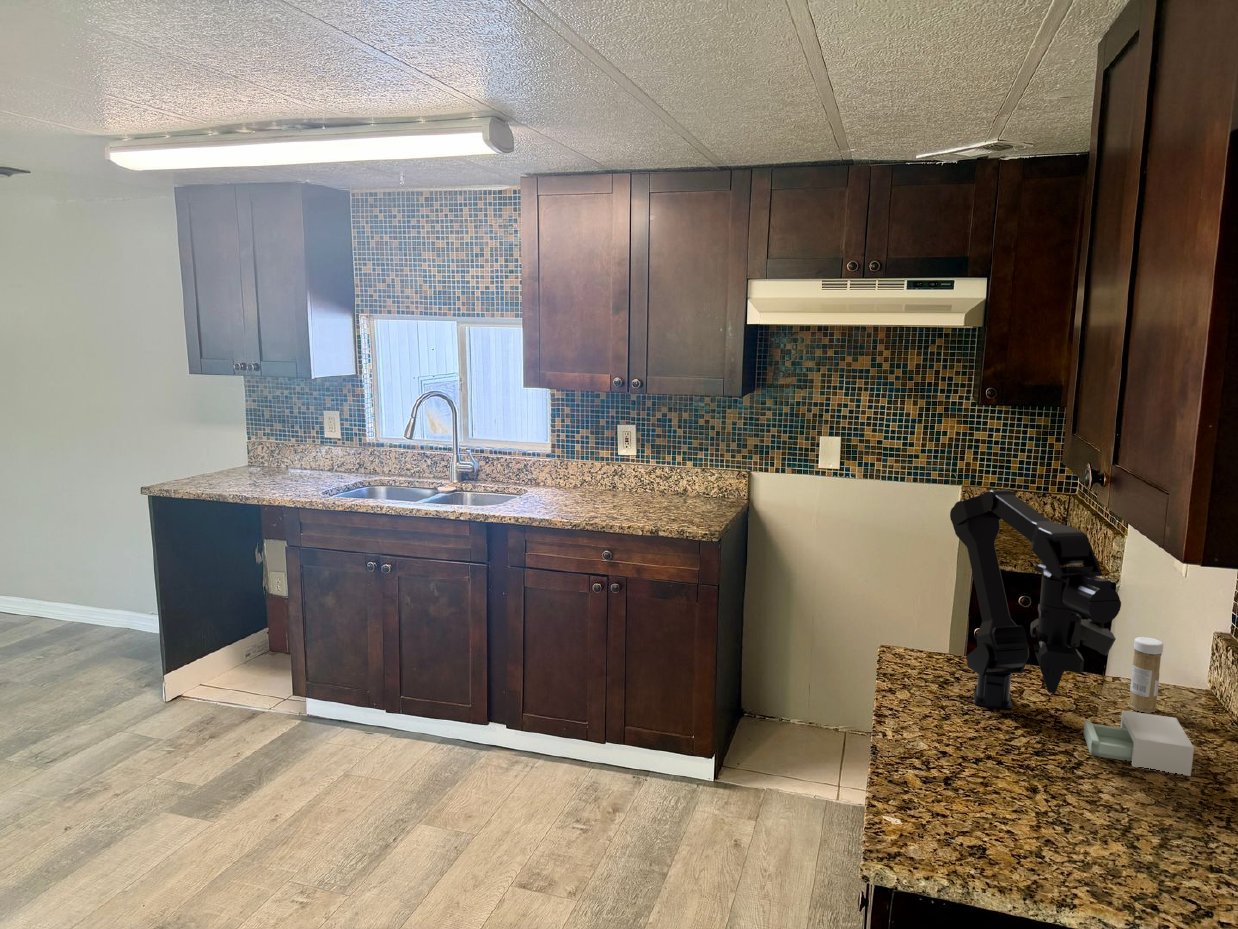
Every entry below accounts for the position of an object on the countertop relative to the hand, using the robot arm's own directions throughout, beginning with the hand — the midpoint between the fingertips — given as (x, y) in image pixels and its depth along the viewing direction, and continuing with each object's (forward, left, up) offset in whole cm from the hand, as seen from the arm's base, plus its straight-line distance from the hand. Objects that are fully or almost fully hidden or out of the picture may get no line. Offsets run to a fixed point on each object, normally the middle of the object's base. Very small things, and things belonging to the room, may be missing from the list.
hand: (1051, 692), depth 145 cm
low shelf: (0, +16, -9) cm, 18 cm away
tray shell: (0, +12, -9) cm, 15 cm away
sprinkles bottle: (-20, +18, -9) cm, 28 cm away
